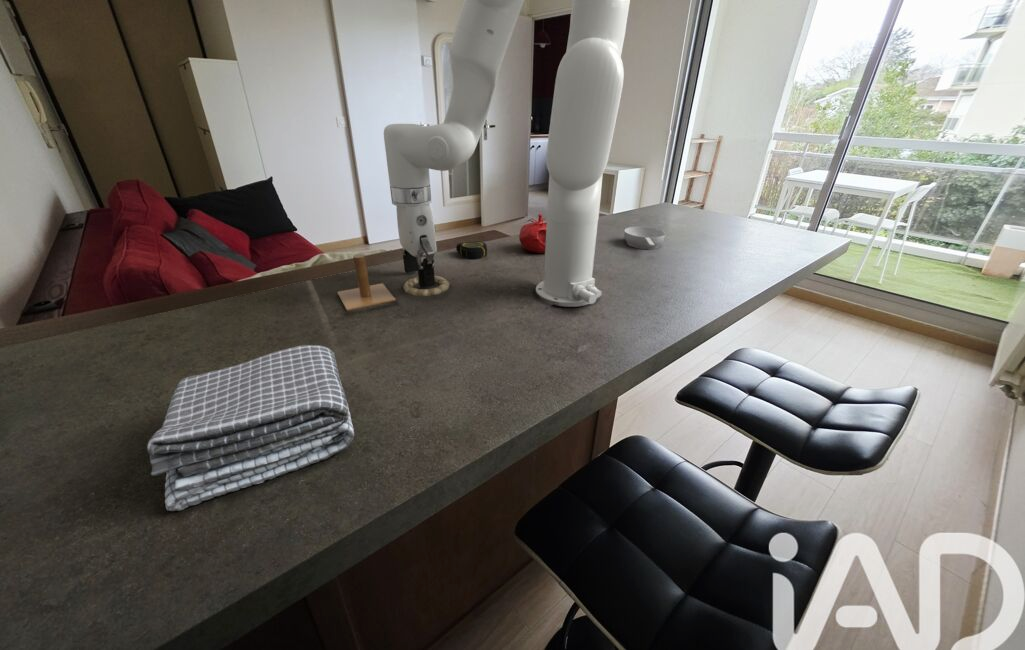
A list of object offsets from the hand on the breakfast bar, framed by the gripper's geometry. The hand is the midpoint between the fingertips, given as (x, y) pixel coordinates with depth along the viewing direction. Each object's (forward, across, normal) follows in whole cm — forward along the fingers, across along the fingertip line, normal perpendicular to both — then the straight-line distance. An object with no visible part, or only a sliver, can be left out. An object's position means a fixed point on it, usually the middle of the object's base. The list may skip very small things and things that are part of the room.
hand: (419, 278), depth 88 cm
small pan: (+1, -6, -61) cm, 61 cm away
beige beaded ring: (0, -4, 0) cm, 4 cm away
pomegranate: (+1, +7, -35) cm, 36 cm away
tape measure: (+2, +10, -17) cm, 20 cm away
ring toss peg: (+1, -3, +12) cm, 12 cm away
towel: (+2, -35, +31) cm, 47 cm away
